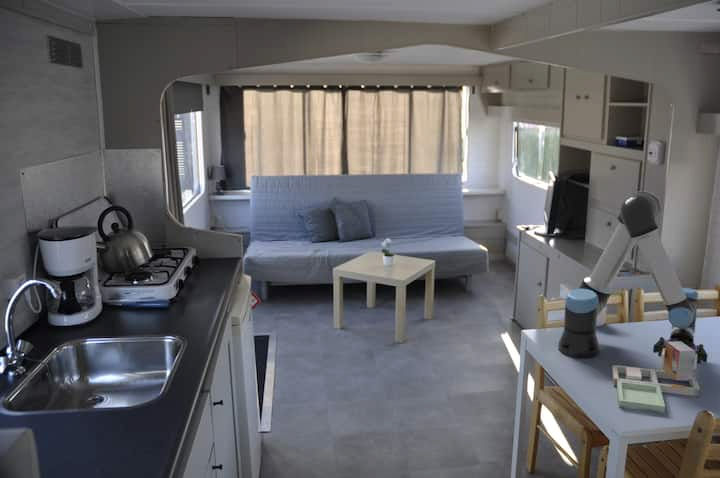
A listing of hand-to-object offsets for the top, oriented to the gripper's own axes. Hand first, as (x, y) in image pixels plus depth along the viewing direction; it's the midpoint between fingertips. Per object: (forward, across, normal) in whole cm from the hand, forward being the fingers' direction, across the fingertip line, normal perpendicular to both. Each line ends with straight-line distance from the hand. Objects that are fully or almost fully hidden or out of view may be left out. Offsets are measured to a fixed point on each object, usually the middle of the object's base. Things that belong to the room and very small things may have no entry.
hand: (678, 361), depth 199 cm
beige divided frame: (-3, +7, -11) cm, 13 cm away
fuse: (-2, +13, -11) cm, 17 cm away
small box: (-5, 0, -7) cm, 8 cm away
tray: (+11, +10, -11) cm, 18 cm away
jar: (-54, +34, -12) cm, 65 cm away
